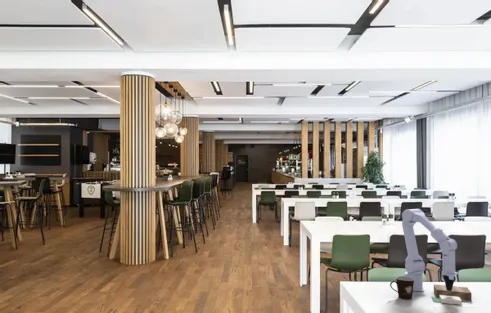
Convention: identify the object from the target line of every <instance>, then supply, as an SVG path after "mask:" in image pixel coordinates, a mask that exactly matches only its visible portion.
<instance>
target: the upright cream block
mask: <svg viewBox="0 0 491 313" xmlns="http://www.w3.org/2000/svg"><path fill="white" fill-rule="evenodd" d="M439 299H440V301H441V303H442V304H450V305H451V304H452V305H459V306H462V305H463V304H462V303H463V302H462V301H463V300H461V299H460V297H455V296H445V295H439ZM441 303H440V304H441Z"/></svg>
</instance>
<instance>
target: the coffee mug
mask: <svg viewBox="0 0 491 313" xmlns="http://www.w3.org/2000/svg"><path fill="white" fill-rule="evenodd" d="M393 283H395V284H396V287H397V290H396V289H395V288H393V286H392V285H393ZM413 285H414V279H413V278H411V277H406V276H404V275H403V276H402V275H399V276H396V278H395V280H392V281H391V282H390V285H389V287H390V288H391V289H392V290H393V291H394V292H396V293H397V294H398V296H397V297H398V299H400V300H403V301H411V300H413V293H414V291H413Z"/></svg>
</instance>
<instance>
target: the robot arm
mask: <svg viewBox="0 0 491 313" xmlns="http://www.w3.org/2000/svg"><path fill="white" fill-rule="evenodd" d="M401 218H402V219H401V220H402V222H401V226H402V231H403V236H404V240H405V242H404V243H405V247H406V251H407V256H406V258H405V264H404V267H405V270H406V272H403V273H404V275H403V276H406V277H411V278H413V279H414V285H413V292H422V293H424V292H425V290H424V287H423V284H424V283H423V282H424V281H423V279H424V278H423V273H424V271H426V263H425V261H424V260H423V257H422V256H421V255H419V250H418V249H419V248H418V245H417V240H416V235H415V230H414V225H415V224H416V223H420V224H421V225H423V227H424V228H426V229H427V230H428V232H430V236H431V237H432V239H434V240H435V241H436V242H437V244H438V245H439V248H440V250H441V254H442V271H441V272H442V278H443V280H444V283H445V284H444V285H446V289H447V291H452V288H453V286H454V284H455V281H456V275H459V272H458V271H457V272H456V250H457V249H458V243H457V241H456V240H455V239H453V238H450V237H449V235H447V234H446V233H445V232H444V229H442V228H440V227H439V228H438V227H436V226H434V224H433V223H432V222H431V221H430V220H429V219H428V217H427V216H426V214H425V212H424V211H423V210H421V209H420V208H412V209H411V208H410V209H409V208H407V209H405V210H404V211H403V212H402V213H401Z"/></svg>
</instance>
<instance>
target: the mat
mask: <svg viewBox="0 0 491 313" xmlns="http://www.w3.org/2000/svg"><path fill="white" fill-rule="evenodd" d="M430 298H431V300H432V302H433V303H439V304H441V301H440V299H439V297H436V296H430Z"/></svg>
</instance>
